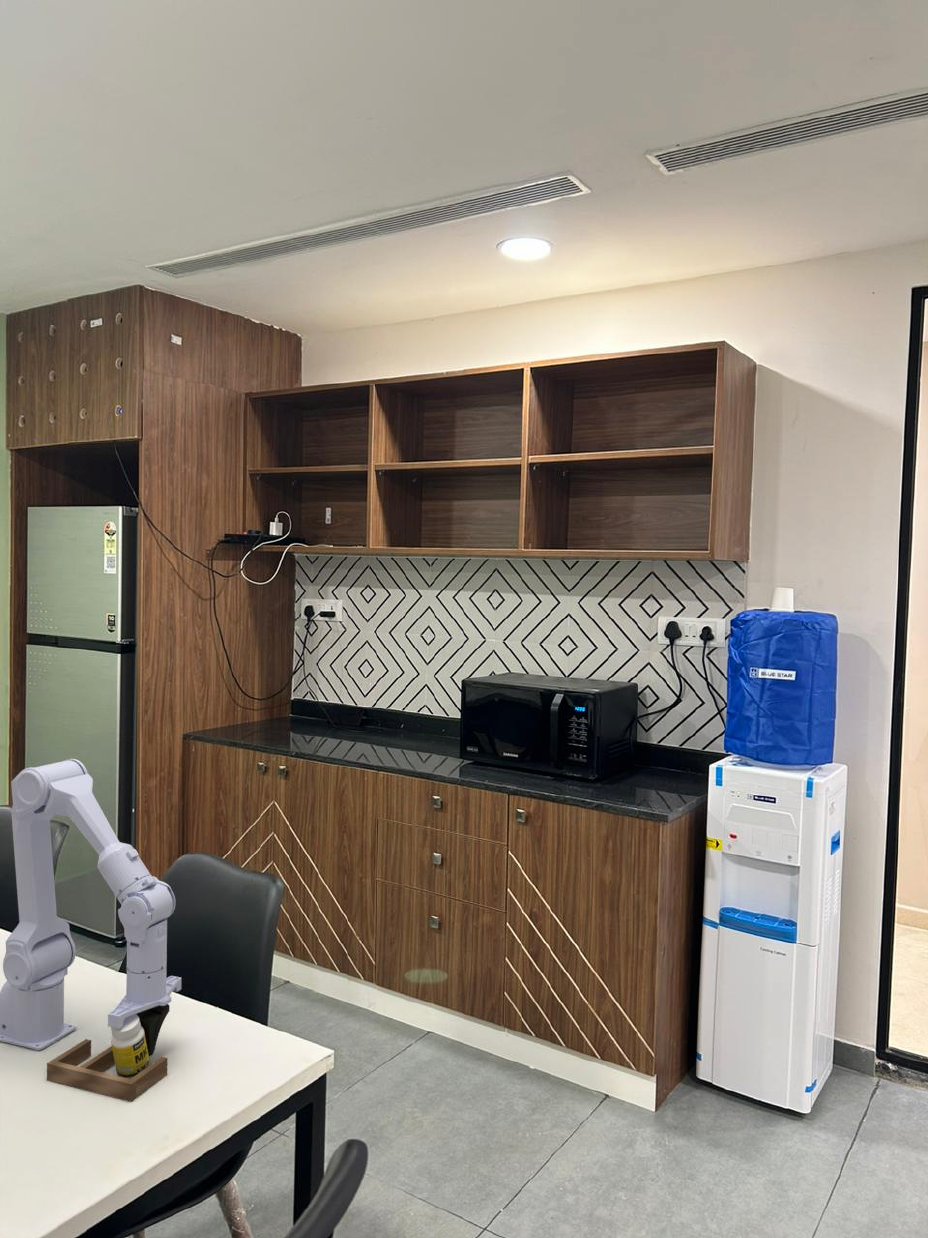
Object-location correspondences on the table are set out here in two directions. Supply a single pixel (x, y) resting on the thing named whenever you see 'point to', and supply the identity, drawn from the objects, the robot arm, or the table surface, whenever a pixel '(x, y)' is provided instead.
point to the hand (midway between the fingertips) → (145, 1054)
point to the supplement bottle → (130, 1048)
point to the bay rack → (101, 1073)
